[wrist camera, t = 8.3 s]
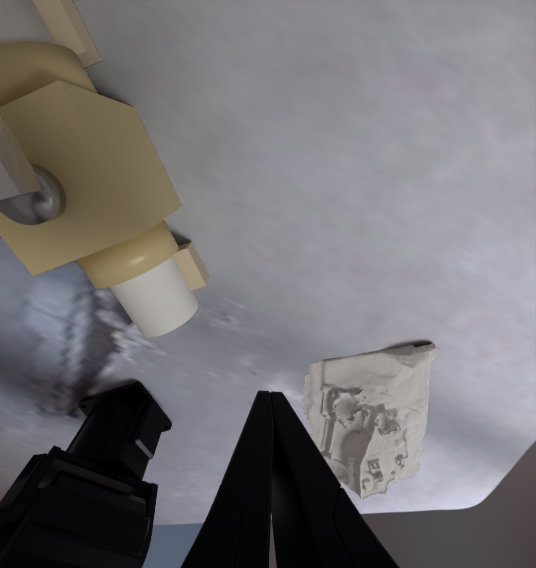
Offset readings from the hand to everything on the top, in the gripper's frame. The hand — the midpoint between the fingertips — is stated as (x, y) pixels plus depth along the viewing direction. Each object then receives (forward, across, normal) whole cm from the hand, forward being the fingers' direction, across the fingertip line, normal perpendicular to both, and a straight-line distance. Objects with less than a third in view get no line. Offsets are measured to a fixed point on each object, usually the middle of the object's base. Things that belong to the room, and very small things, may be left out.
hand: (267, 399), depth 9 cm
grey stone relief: (+14, -14, +18) cm, 26 cm away
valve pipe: (+13, +10, -5) cm, 17 cm away
